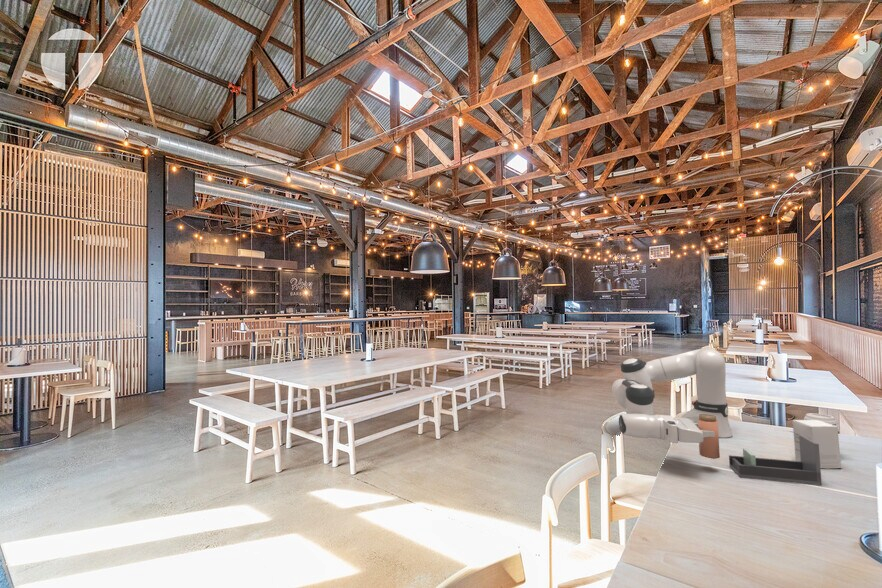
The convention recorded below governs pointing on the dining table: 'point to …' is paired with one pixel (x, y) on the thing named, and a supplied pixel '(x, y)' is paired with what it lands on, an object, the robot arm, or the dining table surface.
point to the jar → (709, 444)
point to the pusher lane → (784, 466)
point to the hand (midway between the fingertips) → (711, 430)
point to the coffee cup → (821, 418)
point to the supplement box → (819, 441)
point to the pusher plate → (748, 457)
